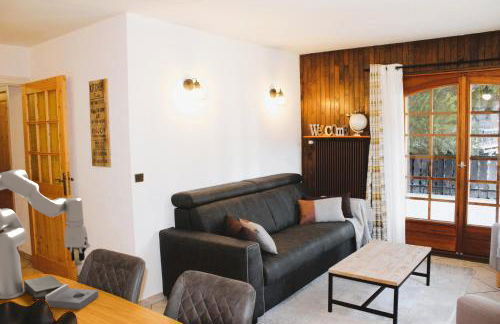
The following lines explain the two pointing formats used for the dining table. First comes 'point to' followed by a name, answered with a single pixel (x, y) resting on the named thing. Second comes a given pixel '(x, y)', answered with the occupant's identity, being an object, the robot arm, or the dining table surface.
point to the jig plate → (70, 297)
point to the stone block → (41, 286)
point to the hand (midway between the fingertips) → (78, 259)
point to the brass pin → (77, 257)
